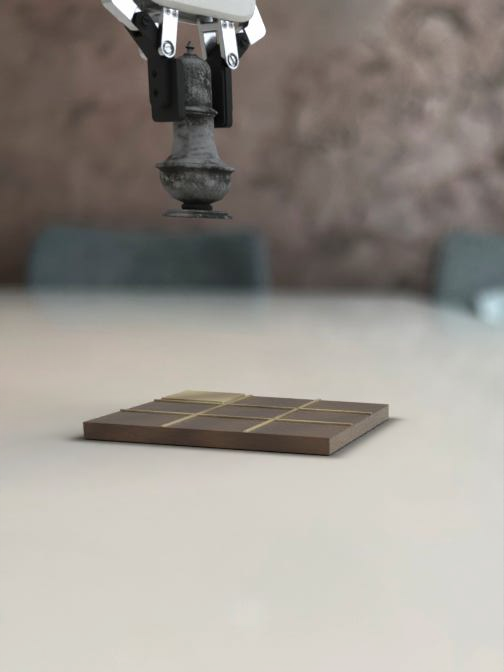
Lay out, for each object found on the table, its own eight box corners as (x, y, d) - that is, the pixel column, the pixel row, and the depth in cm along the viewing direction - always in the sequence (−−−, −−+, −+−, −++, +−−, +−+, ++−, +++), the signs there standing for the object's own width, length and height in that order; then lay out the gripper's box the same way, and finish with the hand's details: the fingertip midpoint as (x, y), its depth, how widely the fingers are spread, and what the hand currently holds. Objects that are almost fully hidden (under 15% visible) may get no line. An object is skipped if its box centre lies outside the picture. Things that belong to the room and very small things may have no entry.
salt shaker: (197, 216, 80) (188, 31, 76) (140, 215, 83) (130, 36, 79) (253, 220, 85) (248, 45, 81) (197, 218, 88) (190, 49, 84)
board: (83, 438, 78) (82, 419, 78) (184, 405, 95) (184, 389, 95) (329, 455, 76) (329, 434, 76) (388, 418, 93) (389, 401, 92)
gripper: (239, -126, 84) (247, 137, 90) (38, -196, 72) (63, 114, 78) (307, -143, 80) (310, 134, 86) (105, -221, 68) (126, 109, 74)
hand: (192, 121), depth 82 cm, fingers closed on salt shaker, 3 cm apart
